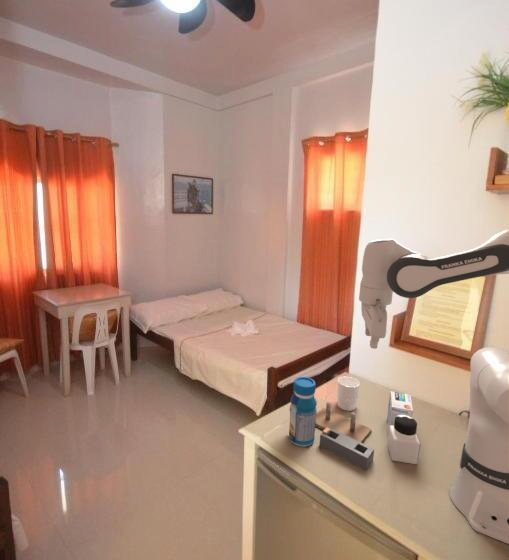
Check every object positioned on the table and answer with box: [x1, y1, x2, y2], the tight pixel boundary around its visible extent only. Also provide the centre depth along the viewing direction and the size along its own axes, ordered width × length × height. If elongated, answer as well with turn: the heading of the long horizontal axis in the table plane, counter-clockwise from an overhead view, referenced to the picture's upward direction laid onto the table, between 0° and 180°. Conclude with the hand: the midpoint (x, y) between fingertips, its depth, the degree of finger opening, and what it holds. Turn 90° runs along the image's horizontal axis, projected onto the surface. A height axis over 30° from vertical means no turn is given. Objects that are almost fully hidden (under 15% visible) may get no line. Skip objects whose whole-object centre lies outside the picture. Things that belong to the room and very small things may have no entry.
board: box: [315, 401, 372, 444], centre depth 111 cm, size 18×10×7 cm, turn 49°
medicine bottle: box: [387, 415, 421, 465], centre depth 99 cm, size 7×7×12 cm
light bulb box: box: [386, 390, 414, 436], centre depth 111 cm, size 11×7×11 cm, turn 160°
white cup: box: [336, 376, 361, 412], centre depth 124 cm, size 8×8×10 cm
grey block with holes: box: [319, 427, 375, 471], centre depth 100 cm, size 15×5×5 cm, turn 49°
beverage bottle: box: [288, 376, 318, 447], centre depth 104 cm, size 8×8×20 cm
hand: (370, 341), depth 97 cm, fingers open, 8 cm apart
